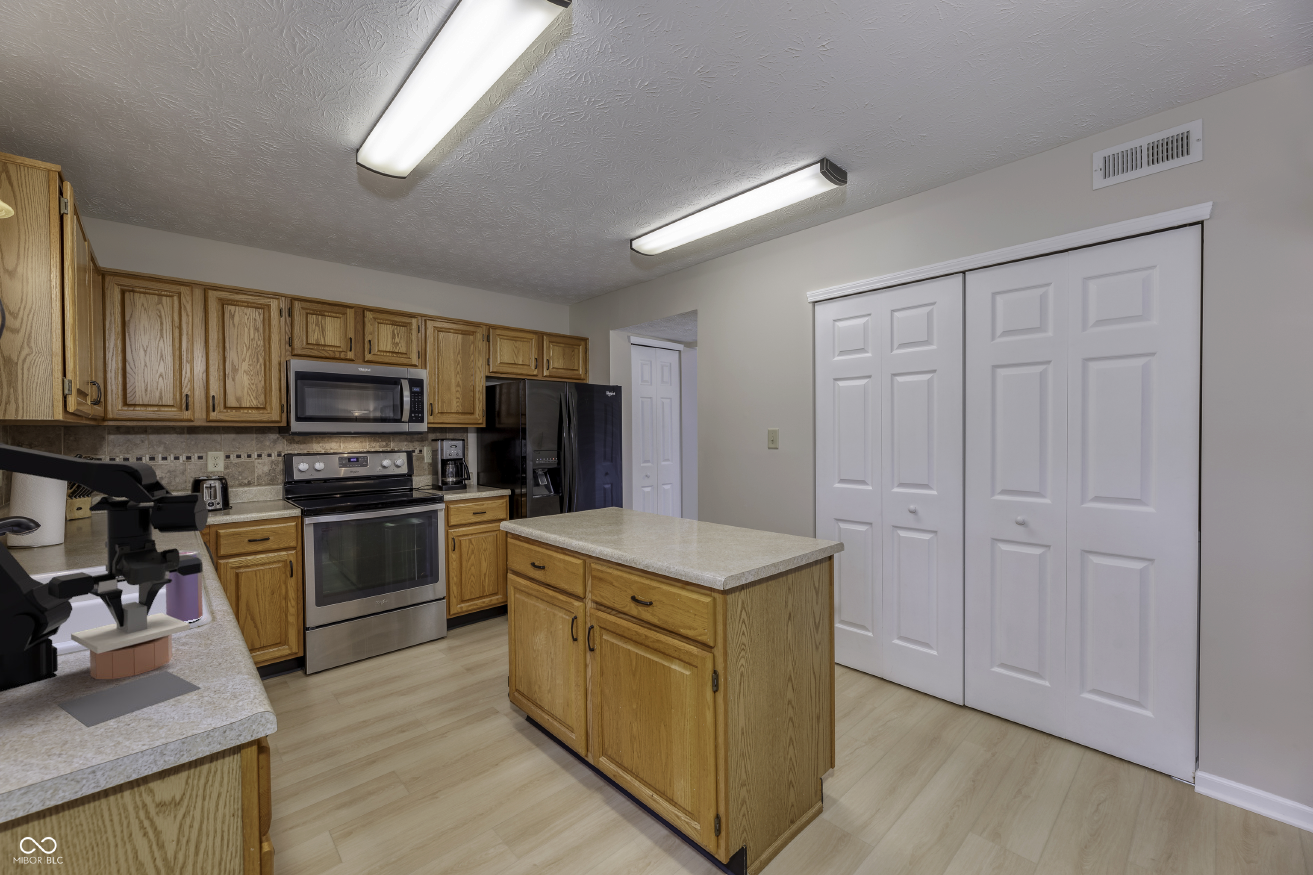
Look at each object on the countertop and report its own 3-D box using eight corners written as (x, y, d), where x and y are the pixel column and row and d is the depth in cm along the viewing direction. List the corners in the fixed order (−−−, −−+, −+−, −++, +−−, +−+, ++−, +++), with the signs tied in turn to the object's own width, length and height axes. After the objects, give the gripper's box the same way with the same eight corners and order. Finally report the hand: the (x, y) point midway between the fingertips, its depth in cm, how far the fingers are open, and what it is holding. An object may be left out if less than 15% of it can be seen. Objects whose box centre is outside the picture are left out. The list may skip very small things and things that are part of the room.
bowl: (104, 686, 89) (104, 656, 89) (82, 673, 94) (81, 644, 94) (181, 663, 98) (180, 635, 98) (157, 652, 103) (156, 625, 103)
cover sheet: (97, 653, 88) (97, 622, 88) (71, 639, 94) (70, 610, 93) (190, 629, 98) (189, 601, 98) (161, 618, 104) (160, 591, 104)
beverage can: (186, 626, 116) (185, 555, 116) (158, 625, 116) (157, 555, 116) (209, 616, 122) (208, 549, 122) (183, 616, 122) (182, 549, 122)
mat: (88, 730, 76) (88, 727, 76) (56, 707, 83) (56, 703, 83) (201, 691, 88) (201, 688, 88) (166, 673, 94) (166, 670, 94)
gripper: (70, 550, 83) (72, 652, 84) (216, 530, 100) (217, 615, 100) (45, 542, 89) (48, 638, 89) (188, 524, 105) (189, 606, 105)
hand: (131, 624), depth 96 cm, fingers closed on cover sheet, 2 cm apart
